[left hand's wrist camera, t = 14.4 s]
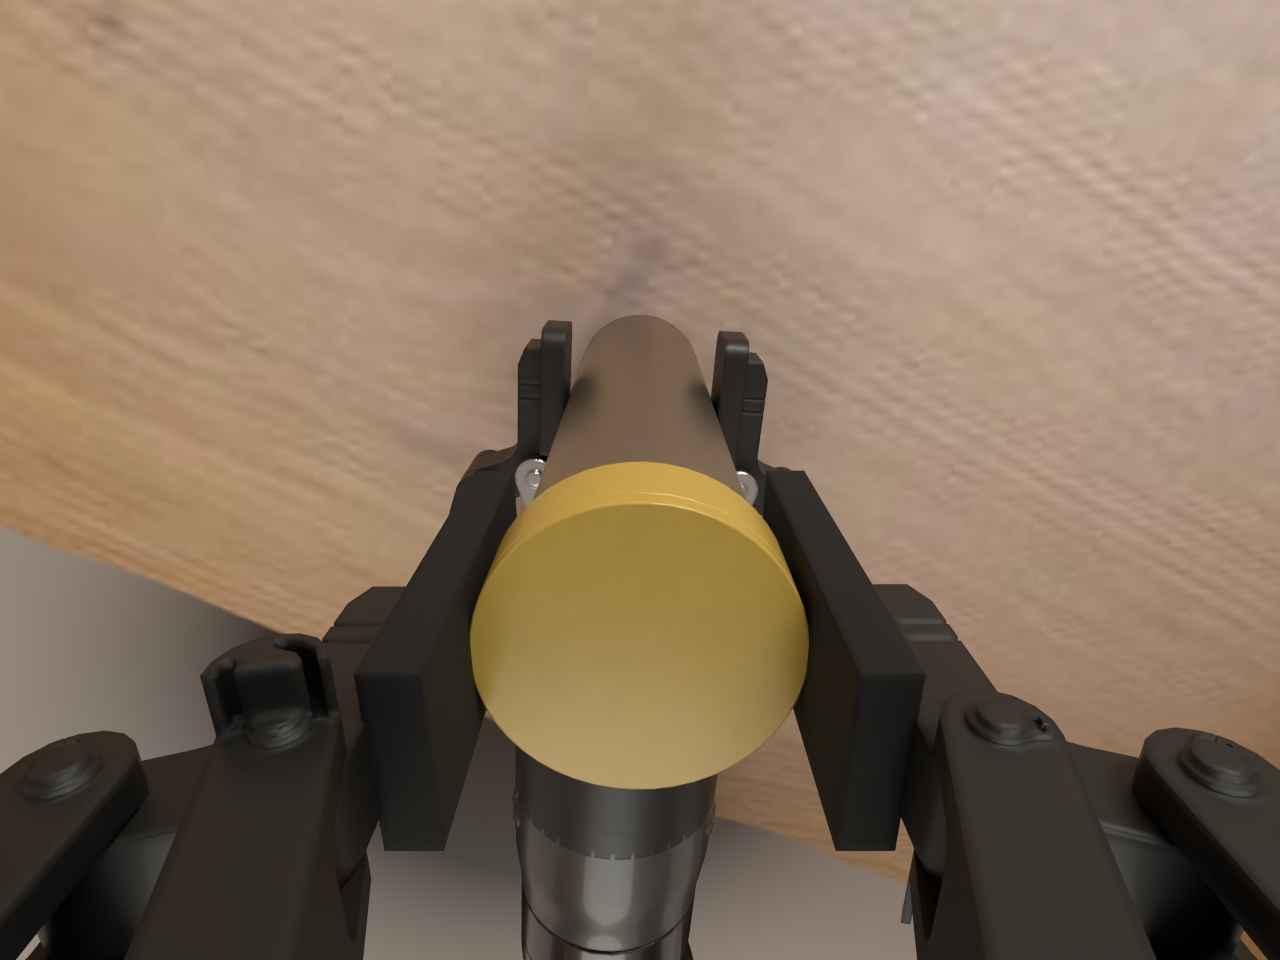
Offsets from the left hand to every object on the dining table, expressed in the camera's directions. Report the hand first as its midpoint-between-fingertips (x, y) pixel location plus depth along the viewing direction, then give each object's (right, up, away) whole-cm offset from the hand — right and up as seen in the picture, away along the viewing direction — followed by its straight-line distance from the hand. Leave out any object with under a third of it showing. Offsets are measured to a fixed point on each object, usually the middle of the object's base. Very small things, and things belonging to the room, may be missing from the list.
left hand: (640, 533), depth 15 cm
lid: (0, -1, -4) cm, 4 cm away
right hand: (0, +5, +6) cm, 8 cm away
